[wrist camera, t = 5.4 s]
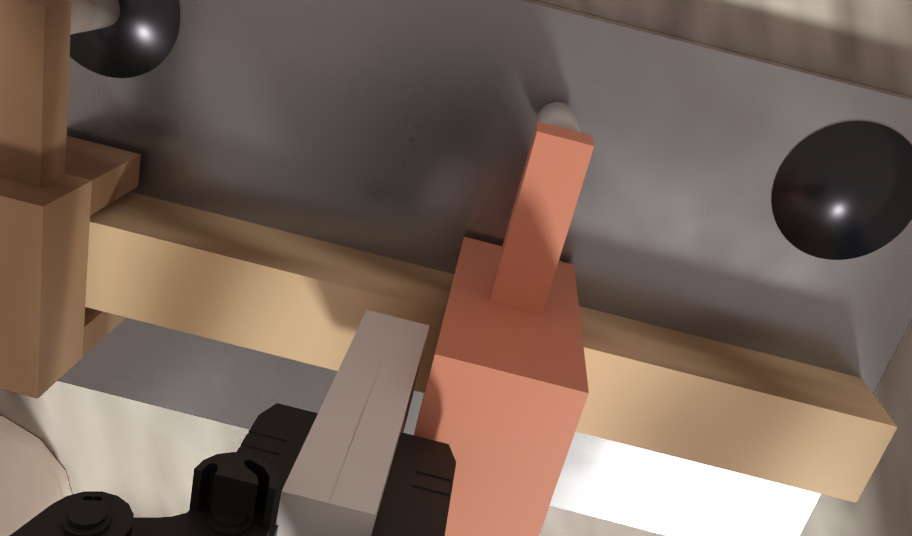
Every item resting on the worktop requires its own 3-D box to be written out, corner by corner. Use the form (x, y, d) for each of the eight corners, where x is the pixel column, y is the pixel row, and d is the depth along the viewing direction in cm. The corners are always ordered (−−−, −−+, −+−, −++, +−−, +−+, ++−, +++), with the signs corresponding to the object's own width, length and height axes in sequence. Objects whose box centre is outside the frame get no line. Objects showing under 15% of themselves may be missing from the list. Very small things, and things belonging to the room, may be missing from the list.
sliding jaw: (424, 391, 23) (384, 549, 17) (502, 86, 19) (486, 150, 13) (525, 416, 23) (521, 584, 17) (621, 116, 19) (658, 194, 13)
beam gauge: (42, 288, 23) (-74, 370, 19) (52, -31, 20) (-88, -23, 15) (807, 482, 23) (871, 609, 19) (952, 198, 20) (1071, 272, 15)
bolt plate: (46, 353, 25) (23, 373, 24) (62, -120, 20) (33, -124, 19) (773, 538, 26) (784, 566, 24) (986, 116, 20) (1013, 126, 19)
